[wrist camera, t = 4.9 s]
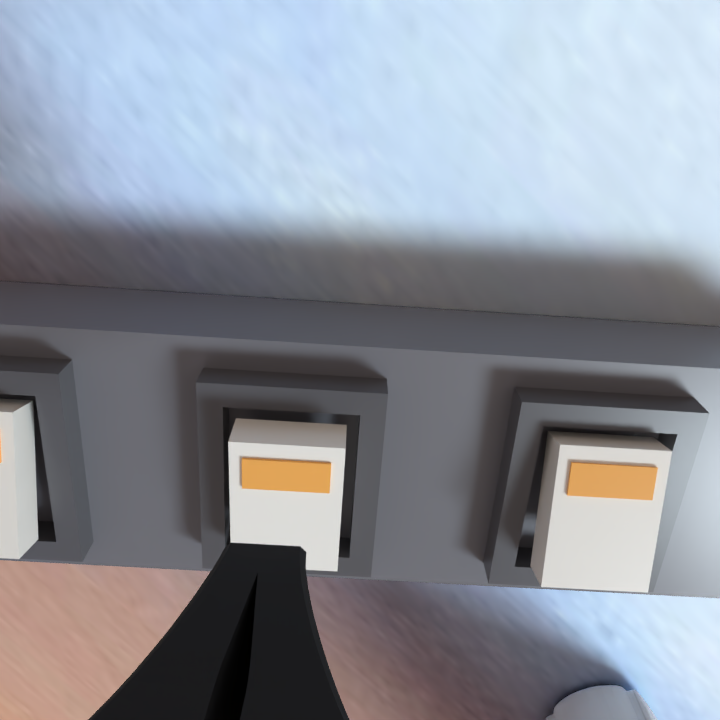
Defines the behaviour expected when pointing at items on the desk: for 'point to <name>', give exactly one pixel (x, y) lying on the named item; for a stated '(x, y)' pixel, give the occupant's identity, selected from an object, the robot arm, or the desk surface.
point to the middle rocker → (288, 486)
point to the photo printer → (603, 705)
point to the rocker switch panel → (349, 425)
